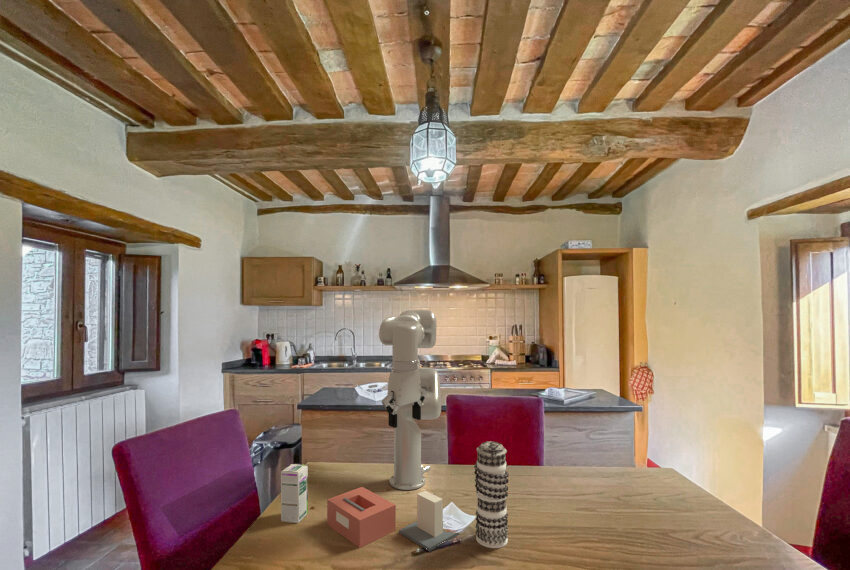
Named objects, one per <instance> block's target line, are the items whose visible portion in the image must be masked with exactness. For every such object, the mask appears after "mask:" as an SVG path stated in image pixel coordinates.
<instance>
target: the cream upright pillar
mask: <svg viewBox="0 0 850 570" xmlns="http://www.w3.org/2000/svg"><path fill="white" fill-rule="evenodd" d="M416 495H417V497H416V498H417V500H416V502H417V503H416V504H417V505H416V506H417V507H416V509H417V510H416V515H417V516H416V517H417V518H416V519H417V520H416V521H417V527H418V528H420V529H422V530H423V531H425V532H427V533H428V534H430V535H432V536H434V537H436V536H438V535H440V534H442V533H443V522H444V519H443V517H444V511H443V510H444V509H443V507H444V504H443V503H444V499H443V498H442V497H439V496H437V495H435V494H433V493H431V492H428V491H426V490H424V491H421V492H418V493H417V494H416Z"/></svg>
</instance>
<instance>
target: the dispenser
mask: <svg viewBox="0 0 850 570" xmlns="http://www.w3.org/2000/svg"><path fill="white" fill-rule="evenodd" d="M326 506H327V507H326V508H327V511H326V516H327V517H326V524H327V526H328V527H330V528H331V529H333V530H334V531H335V532H337V533H338V534H340V535H341V536H342V537H344V538H346V539H347V540H348V541H349V542H350V543H352V544H353V545H354V546H356V547H358V548H359V549H361V548H363V547H365V546H367V545H370V544H371V543H373V542H376V541H377V540H379V539H381V538H383V537H385V536H387V535H390V534H391V533H393V532H395V531H396V529H397V528H396V524H397V523H396V522H397V521H396V517H397V516H396V515H397V512H396V511H397V510H396V509H397V507H396V506H397V505H396V504H395V503H392V502H391V501H389V500H387V499H386V498H383V497H382V496H380V495H379V494H376V493H374V492H373V491H371V490H369V489H367V488H365V487H363V486H360V487H358V488H355V489H352V490H349V491H346V492H344V493H340V494H338V495H335V496H333V497H329V498H328V499H327V505H326Z"/></svg>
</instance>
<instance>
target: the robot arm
mask: <svg viewBox="0 0 850 570" xmlns="http://www.w3.org/2000/svg"><path fill="white" fill-rule="evenodd" d="M378 336H379V337H378V338H379V341H380V343H381V344H382V345H383V346H392V370H390V373H389V375H388V384H387V395H386V396H385V397H383V399H381V404H382V405H383V409H384V410H385V411H386V413H387V414H388V426H389V427H391V428H393V475H392V476H391V477H389V484H390V486H391V487H393V488H395V489H397V490H400V491H401V490H402V491H410V490H412V491H413V490H417V489H420V488H422V487H423V486H425V484H426V477H425V476H424V475H425V473H427V472H430V471H431V466H430V465H429V464H428V465H425V466H424V465H422V431H421V429H420V426H419V425H418V424H417V422H416V421H415V420H417V421H420V420H436V419H438V418H439V417H440V415H441V413H442V398H441V397H442V394H441V393H442V392H441V378H440V374H439V372H438V371H437V370H436V369H435V368H431V367H421V361H420V358H419V356H418V351H419V350H418V349H432V348H433V347H434V346H435V345H436V343H437V317H436V315H435V313H434V312H433V311H431V310H428V309H427V310H424V309H423V310H420V309H418V310H417V309H415V310H414V309H412V310H411V309H408V310H404V311H402V312H401V313H400V314H399V315H398V316H392V317H388V318H387V317H386V318H384V319H383V320H382V322H381V324H380V326H379V330H378Z"/></svg>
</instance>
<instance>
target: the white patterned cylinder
mask: <svg viewBox="0 0 850 570" xmlns="http://www.w3.org/2000/svg"><path fill="white" fill-rule="evenodd" d="M476 451H477V453H476V454H477V458H476V462H475V463H474V466H473V467H474V468H473V469H474V472H473V473H474V474H475V479H474V482H475V484H474V486H475V490H476V491H475V495H476V497H477V503H476V510H475V515H476V516H475V521H476V523H475V528H476V529H475V535H476V536H475V537H476V538H475V539H476V541H477V543H478V544H479V545H481V546H483V547H485V548H489V549H500V548H503V547H505V546H506V545H507V544H508V541H509V540H508V539H509V536H508V535H509V532H508V531H509V526H508V522H509V521H508V520H509V519H508V516H509V514H508V512H507V510H508V509H507V508H508V507H507V505H506V504H507V498H508V497H509V492H507V491H508V490H509V486H508V485H506V484H508V483H509V472H507V471H506V470H507V467H508V464H507V461H506V459H507V457H506V454H507V452H508V450H507V449H506V448H505V447H504V446H503V444H502V443H499V442H497V441H491V440H490V441H484V442H482V443H481V444H480V445H479V446H478V447H476Z"/></svg>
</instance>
